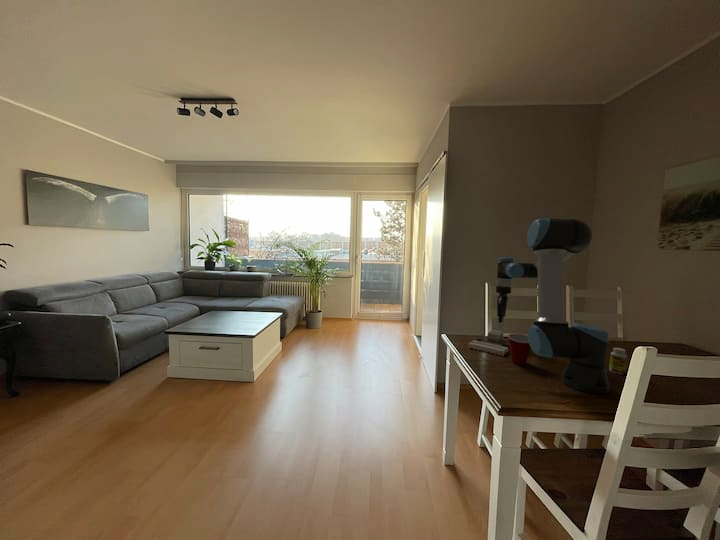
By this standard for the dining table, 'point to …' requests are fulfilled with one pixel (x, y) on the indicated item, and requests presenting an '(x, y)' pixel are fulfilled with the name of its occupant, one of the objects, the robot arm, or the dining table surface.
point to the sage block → (495, 336)
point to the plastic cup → (519, 348)
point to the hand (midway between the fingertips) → (500, 327)
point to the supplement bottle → (618, 361)
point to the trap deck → (490, 345)
